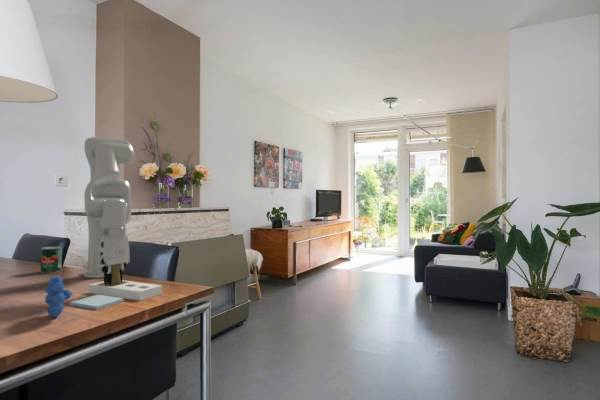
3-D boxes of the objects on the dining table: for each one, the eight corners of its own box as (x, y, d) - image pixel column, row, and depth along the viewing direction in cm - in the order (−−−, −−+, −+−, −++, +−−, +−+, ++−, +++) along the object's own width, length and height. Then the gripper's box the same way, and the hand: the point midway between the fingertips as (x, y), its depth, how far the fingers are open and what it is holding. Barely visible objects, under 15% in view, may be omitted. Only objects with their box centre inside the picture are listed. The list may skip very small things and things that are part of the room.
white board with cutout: (88, 292, 130) (88, 284, 130) (112, 286, 139) (112, 278, 139) (140, 300, 121) (140, 291, 121) (161, 293, 131) (162, 285, 131)
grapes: (77, 319, 102) (78, 276, 102) (49, 324, 97) (49, 279, 97) (67, 309, 110) (67, 270, 110) (40, 314, 106) (40, 273, 106)
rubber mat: (69, 305, 115) (69, 301, 115) (97, 297, 124) (97, 294, 124) (96, 309, 111) (97, 306, 111) (123, 301, 120) (123, 298, 120)
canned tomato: (41, 274, 160) (42, 249, 160) (39, 271, 166) (39, 247, 166) (62, 272, 165) (63, 247, 165) (60, 269, 171) (60, 246, 171)
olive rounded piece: (114, 294, 129) (114, 263, 129) (99, 293, 130) (99, 262, 130) (125, 290, 135) (126, 260, 135) (111, 289, 136) (111, 259, 136)
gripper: (101, 234, 123) (100, 289, 123) (139, 231, 139) (138, 279, 139) (85, 233, 126) (84, 286, 126) (124, 230, 142) (124, 277, 142)
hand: (113, 282), depth 133 cm, fingers closed on olive rounded piece, 3 cm apart
